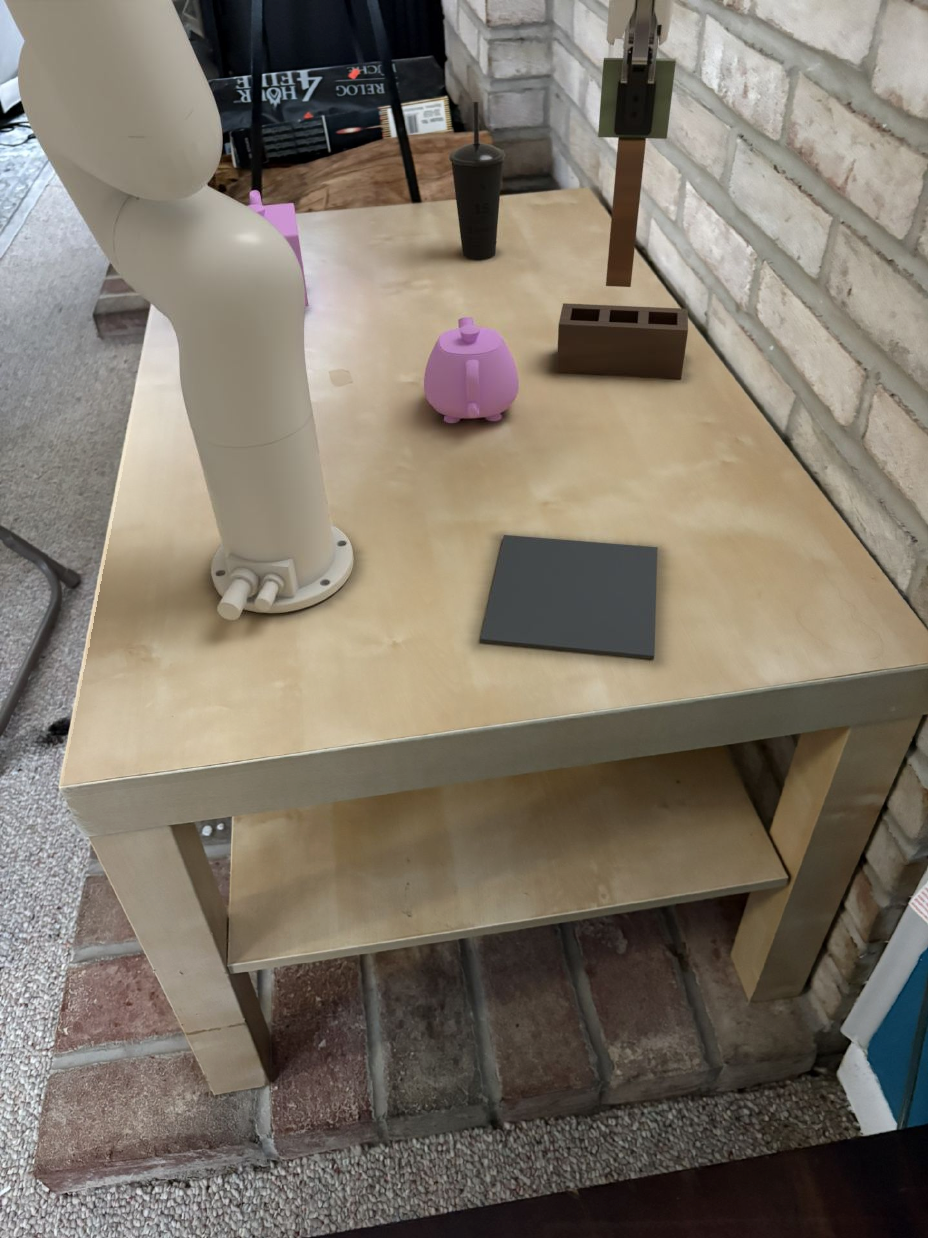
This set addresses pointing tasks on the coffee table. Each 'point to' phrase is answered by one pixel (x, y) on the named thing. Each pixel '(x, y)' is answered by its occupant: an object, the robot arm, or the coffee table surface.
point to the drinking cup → (477, 194)
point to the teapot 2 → (470, 374)
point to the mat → (573, 597)
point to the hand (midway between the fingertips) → (632, 130)
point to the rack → (622, 340)
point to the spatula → (630, 163)
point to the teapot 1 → (281, 224)
